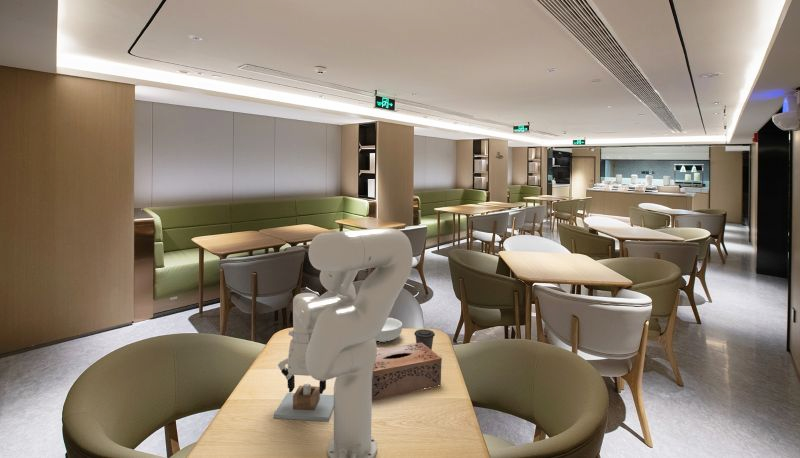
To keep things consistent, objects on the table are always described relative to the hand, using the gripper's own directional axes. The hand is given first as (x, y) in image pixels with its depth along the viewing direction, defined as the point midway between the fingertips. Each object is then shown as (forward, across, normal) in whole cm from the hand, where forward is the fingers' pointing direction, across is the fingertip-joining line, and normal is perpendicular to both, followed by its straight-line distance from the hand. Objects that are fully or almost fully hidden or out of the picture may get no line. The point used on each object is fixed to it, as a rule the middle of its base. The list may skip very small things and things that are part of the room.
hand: (306, 390), depth 124 cm
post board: (+6, 0, 0) cm, 6 cm away
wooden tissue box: (+4, 0, 0) cm, 4 cm away
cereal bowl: (+6, +17, +56) cm, 58 cm away
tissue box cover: (+6, +26, +18) cm, 32 cm away
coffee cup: (+6, +35, +41) cm, 54 cm away
